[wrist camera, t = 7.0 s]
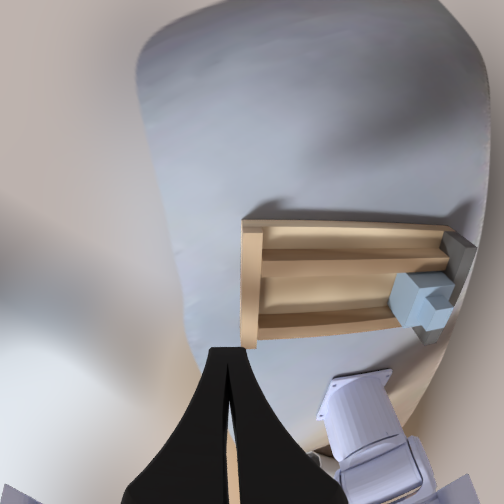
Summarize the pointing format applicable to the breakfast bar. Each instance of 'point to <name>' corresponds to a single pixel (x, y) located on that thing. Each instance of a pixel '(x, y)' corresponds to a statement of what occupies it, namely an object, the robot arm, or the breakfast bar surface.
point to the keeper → (421, 299)
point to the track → (337, 275)
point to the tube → (325, 462)
